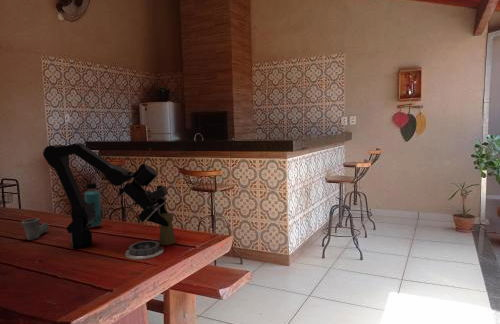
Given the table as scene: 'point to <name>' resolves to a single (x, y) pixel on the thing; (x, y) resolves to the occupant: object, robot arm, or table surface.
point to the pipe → (34, 228)
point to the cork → (167, 231)
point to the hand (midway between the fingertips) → (170, 223)
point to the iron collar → (144, 250)
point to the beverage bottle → (94, 202)
